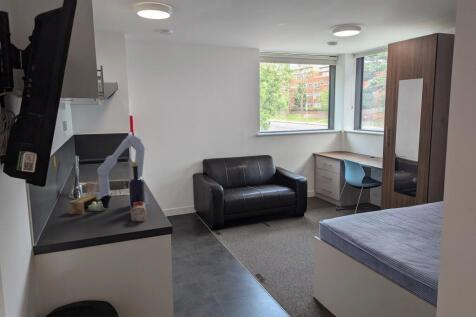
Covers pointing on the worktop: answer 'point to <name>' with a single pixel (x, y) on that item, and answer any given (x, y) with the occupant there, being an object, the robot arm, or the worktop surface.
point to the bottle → (136, 187)
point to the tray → (96, 207)
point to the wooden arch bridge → (82, 203)
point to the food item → (138, 212)
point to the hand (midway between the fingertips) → (105, 208)
